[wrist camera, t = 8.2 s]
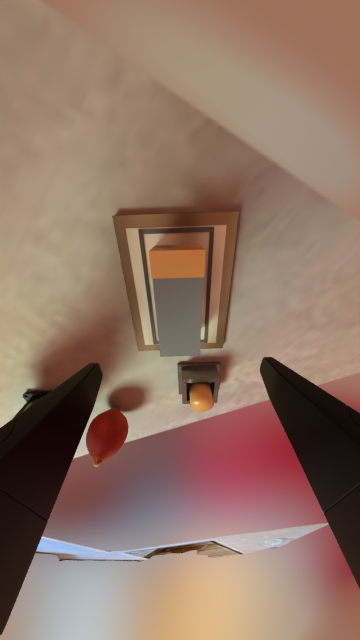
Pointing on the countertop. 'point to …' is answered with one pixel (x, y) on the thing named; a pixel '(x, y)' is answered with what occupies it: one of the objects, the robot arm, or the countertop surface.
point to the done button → (201, 397)
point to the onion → (106, 435)
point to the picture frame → (177, 229)
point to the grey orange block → (178, 297)
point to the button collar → (198, 378)
